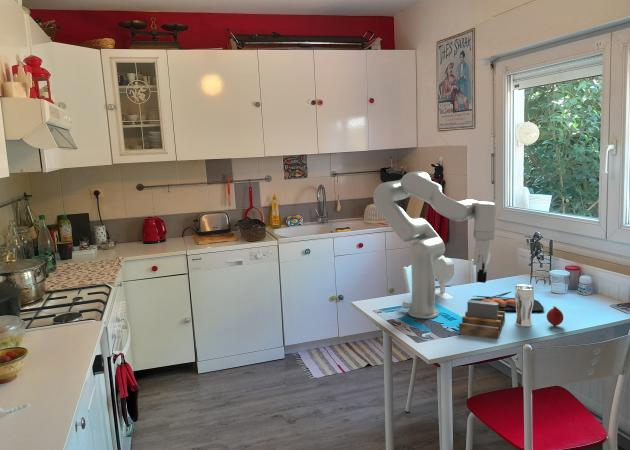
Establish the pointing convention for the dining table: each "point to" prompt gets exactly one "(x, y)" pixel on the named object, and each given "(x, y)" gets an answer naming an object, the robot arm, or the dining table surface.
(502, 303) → the sushi plate
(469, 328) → the rack
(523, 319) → the beer glass
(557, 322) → the onion
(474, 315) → the grey rectangular block
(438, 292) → the heart sculpture
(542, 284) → the dining table surface
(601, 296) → the dining table surface
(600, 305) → the dining table surface
